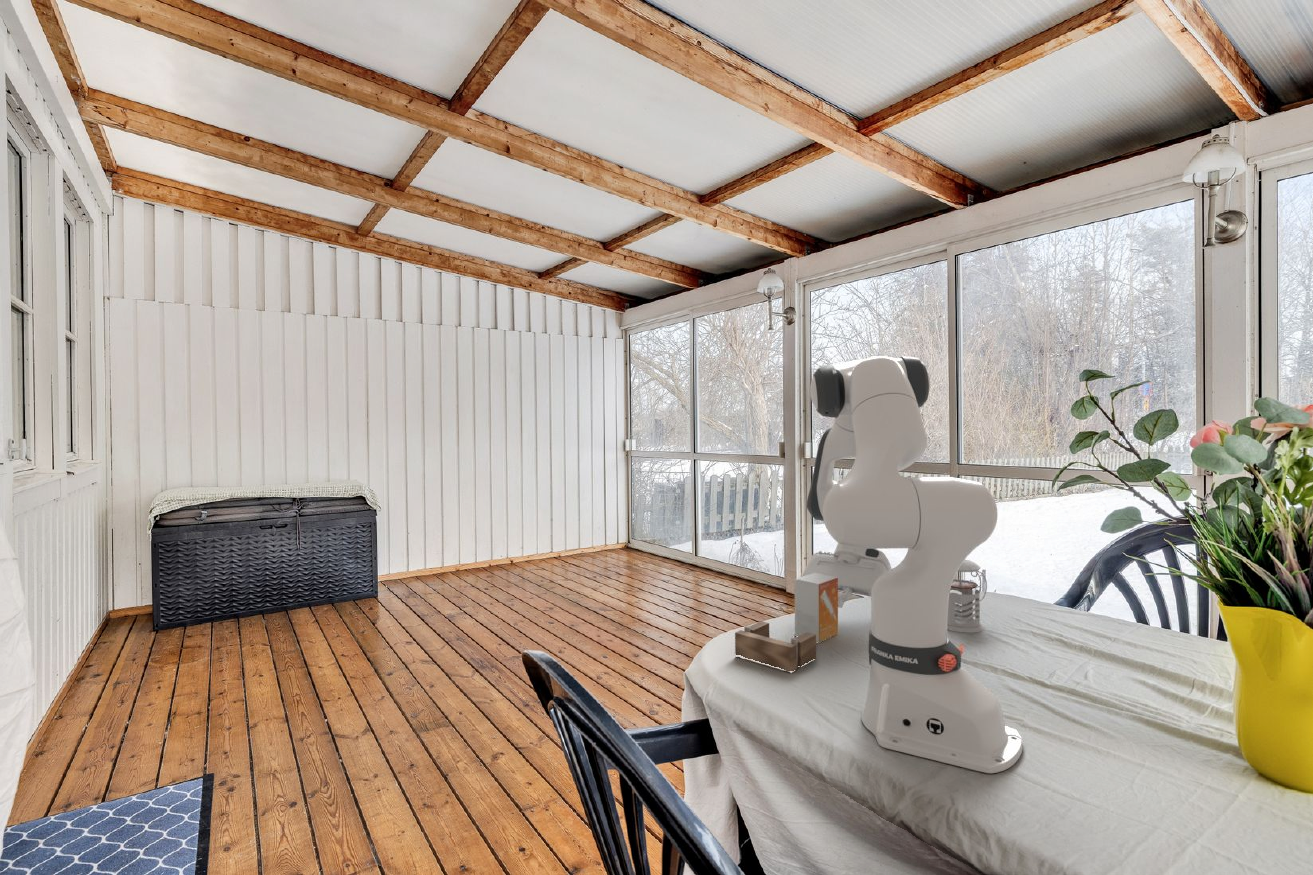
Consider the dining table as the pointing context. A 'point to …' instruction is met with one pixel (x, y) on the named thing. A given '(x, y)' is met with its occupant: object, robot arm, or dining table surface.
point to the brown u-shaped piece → (774, 647)
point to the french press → (965, 602)
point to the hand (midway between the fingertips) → (834, 605)
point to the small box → (816, 606)
